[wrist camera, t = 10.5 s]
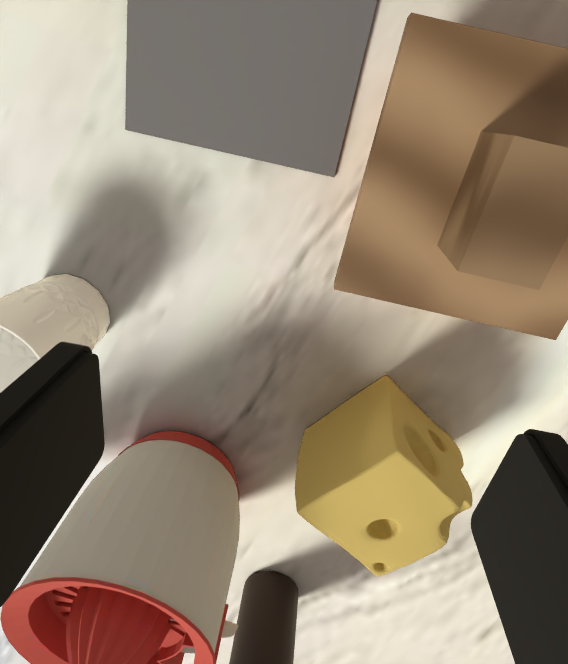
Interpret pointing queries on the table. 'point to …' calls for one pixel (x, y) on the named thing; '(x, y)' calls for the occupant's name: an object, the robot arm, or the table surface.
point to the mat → (247, 75)
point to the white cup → (48, 321)
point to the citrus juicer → (136, 563)
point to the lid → (467, 182)
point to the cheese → (381, 479)
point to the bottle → (266, 621)
